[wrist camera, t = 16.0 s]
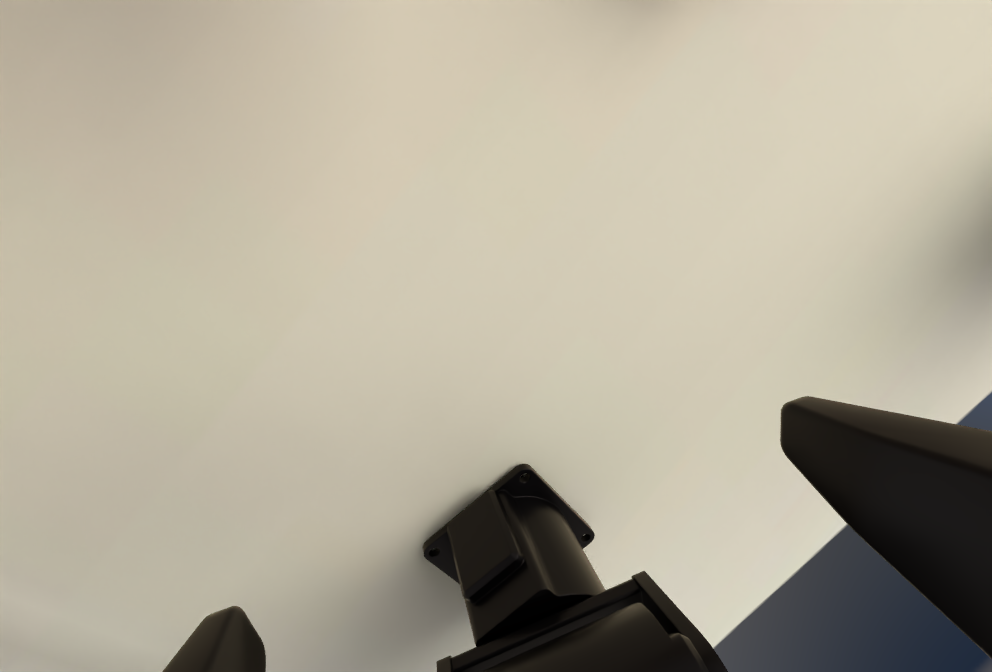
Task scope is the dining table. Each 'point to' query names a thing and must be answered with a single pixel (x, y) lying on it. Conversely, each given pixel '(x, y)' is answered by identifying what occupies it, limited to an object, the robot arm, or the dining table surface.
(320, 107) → the dining table surface
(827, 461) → the robot arm
